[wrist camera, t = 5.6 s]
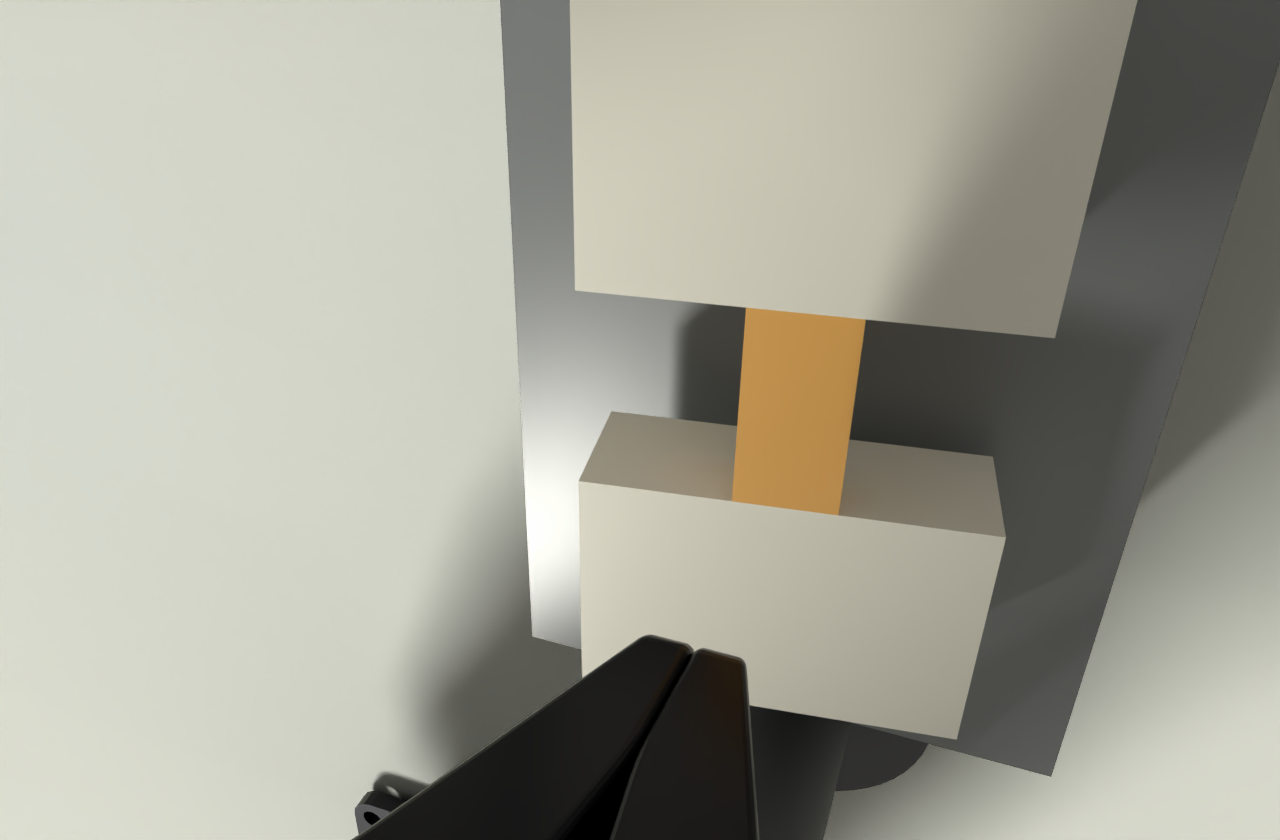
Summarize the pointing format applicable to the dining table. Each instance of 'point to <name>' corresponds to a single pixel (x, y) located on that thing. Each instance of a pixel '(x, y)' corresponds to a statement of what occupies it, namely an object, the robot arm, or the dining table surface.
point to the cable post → (817, 768)
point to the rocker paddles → (822, 315)
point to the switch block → (925, 352)
